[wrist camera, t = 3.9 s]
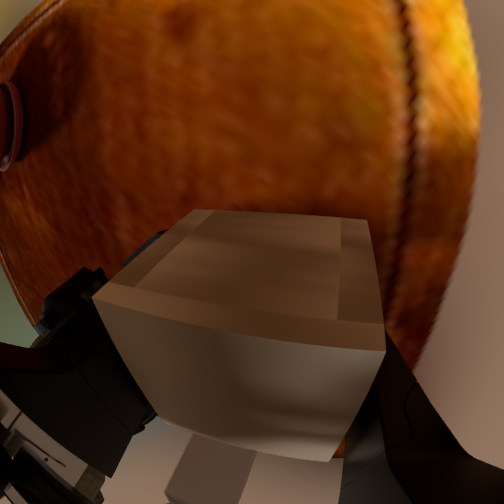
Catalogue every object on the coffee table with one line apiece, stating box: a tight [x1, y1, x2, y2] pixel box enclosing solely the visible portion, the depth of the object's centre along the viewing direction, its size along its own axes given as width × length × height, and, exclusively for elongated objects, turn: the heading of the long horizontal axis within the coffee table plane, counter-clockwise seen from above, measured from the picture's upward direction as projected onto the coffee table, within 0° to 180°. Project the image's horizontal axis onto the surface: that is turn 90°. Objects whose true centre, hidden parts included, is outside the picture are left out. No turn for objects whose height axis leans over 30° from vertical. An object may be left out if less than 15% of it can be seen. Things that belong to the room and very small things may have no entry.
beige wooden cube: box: [92, 209, 386, 462], centre depth 8 cm, size 6×6×5 cm
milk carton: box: [164, 433, 257, 504], centre depth 23 cm, size 7×7×19 cm
